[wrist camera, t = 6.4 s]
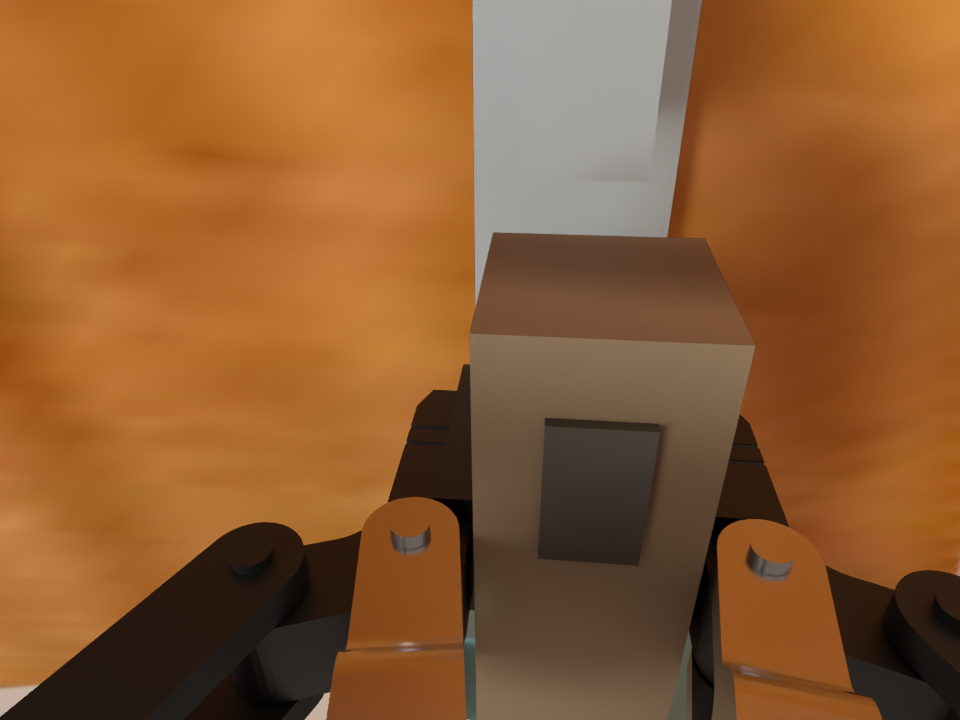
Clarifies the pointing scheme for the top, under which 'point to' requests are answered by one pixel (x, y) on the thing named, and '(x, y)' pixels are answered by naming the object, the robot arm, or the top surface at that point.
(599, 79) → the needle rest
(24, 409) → the top surface
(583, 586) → the needle
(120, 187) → the top surface
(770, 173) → the top surface
